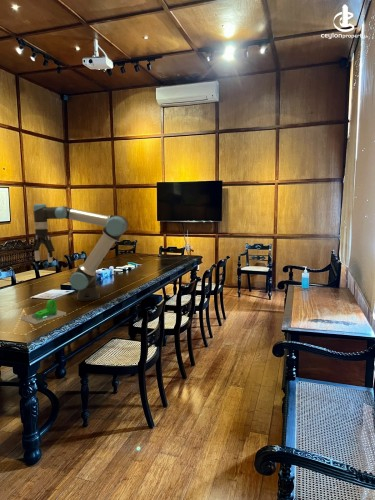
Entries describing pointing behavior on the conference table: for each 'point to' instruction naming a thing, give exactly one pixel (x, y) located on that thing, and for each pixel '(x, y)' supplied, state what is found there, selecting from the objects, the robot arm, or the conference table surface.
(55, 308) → the mechanical part
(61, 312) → the carrier plate
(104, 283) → the conference table surface
